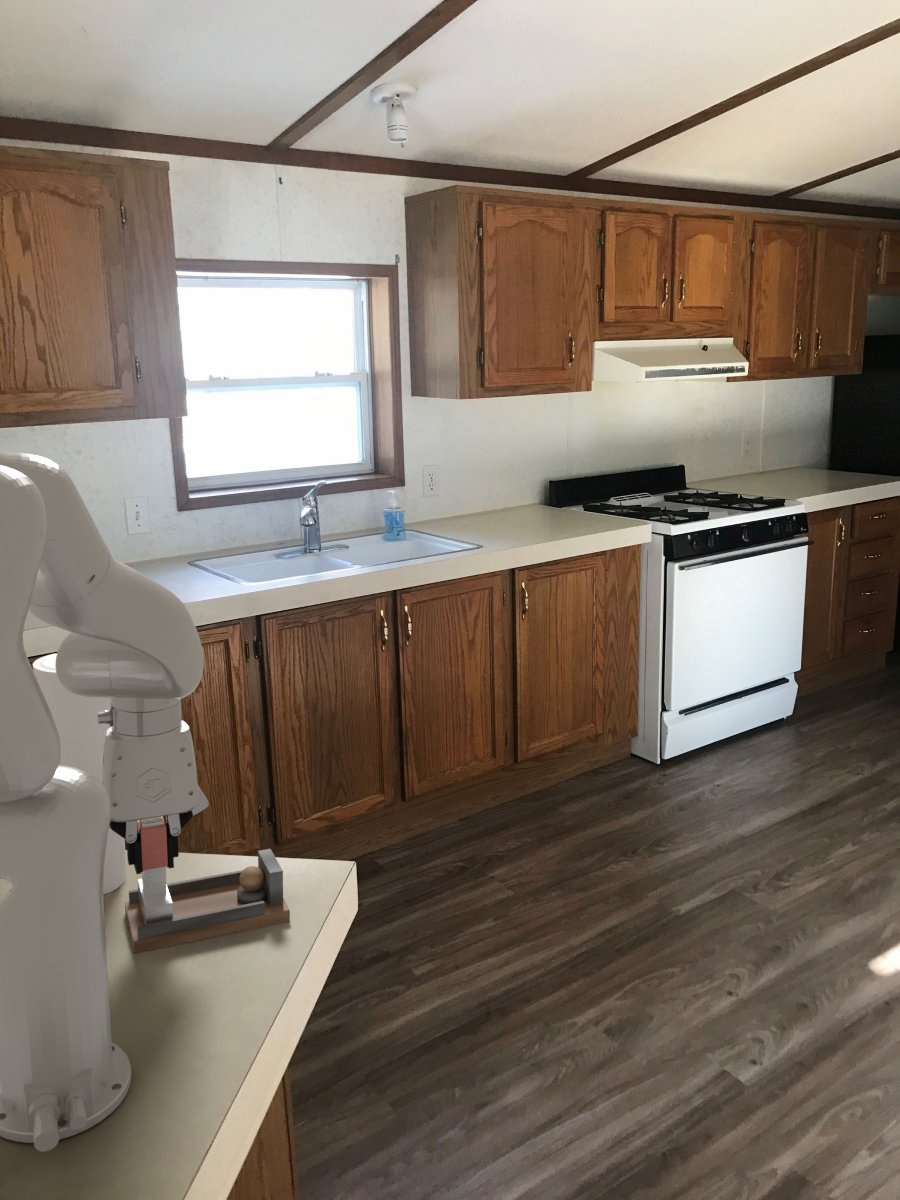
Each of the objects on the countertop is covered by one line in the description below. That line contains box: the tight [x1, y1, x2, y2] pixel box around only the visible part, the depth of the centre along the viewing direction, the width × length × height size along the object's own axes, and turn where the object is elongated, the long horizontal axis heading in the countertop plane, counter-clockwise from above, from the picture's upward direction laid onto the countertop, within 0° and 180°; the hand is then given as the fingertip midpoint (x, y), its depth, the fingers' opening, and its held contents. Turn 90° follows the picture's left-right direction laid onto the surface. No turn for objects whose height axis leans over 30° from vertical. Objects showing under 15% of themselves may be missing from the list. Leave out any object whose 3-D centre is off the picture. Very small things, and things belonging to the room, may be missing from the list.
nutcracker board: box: [124, 848, 291, 954], centre depth 117 cm, size 9×18×6 cm, turn 114°
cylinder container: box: [32, 653, 127, 896], centre depth 122 cm, size 9×9×30 cm
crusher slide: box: [137, 816, 173, 924], centre depth 113 cm, size 7×3×12 cm, turn 24°
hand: (153, 864), depth 113 cm, fingers closed on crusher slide, 2 cm apart
